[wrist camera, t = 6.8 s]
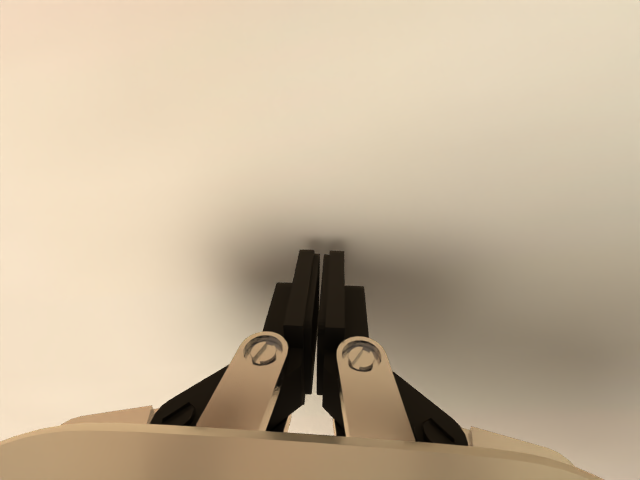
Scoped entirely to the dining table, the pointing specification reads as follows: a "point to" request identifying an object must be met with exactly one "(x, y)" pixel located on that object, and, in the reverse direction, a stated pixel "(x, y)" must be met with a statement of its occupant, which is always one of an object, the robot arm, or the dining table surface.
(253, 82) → the dining table surface
